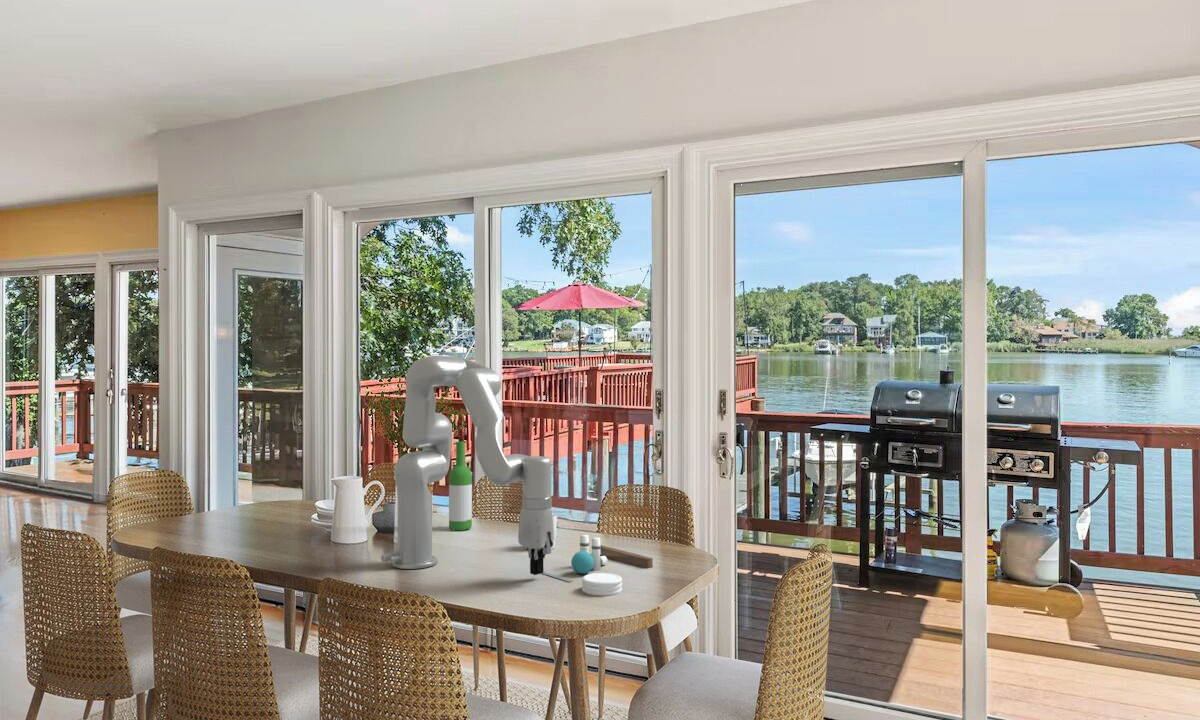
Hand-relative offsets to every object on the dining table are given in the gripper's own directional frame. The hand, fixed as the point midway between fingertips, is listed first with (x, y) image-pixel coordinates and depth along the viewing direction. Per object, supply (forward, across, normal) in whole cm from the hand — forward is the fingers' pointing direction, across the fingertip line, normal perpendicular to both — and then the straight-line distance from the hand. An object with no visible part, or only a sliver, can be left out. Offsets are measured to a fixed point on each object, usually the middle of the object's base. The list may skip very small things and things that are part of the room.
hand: (536, 573), depth 213 cm
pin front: (0, 0, +15) cm, 15 cm away
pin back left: (+2, -2, +18) cm, 19 cm away
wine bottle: (+2, -70, +20) cm, 73 cm away
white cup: (+2, -28, +24) cm, 37 cm away
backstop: (+2, 0, +31) cm, 31 cm away
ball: (-2, +4, +13) cm, 13 cm away
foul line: (+2, 0, +5) cm, 5 cm away
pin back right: (+2, +3, +18) cm, 19 cm away
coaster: (+2, +19, +6) cm, 20 cm away
